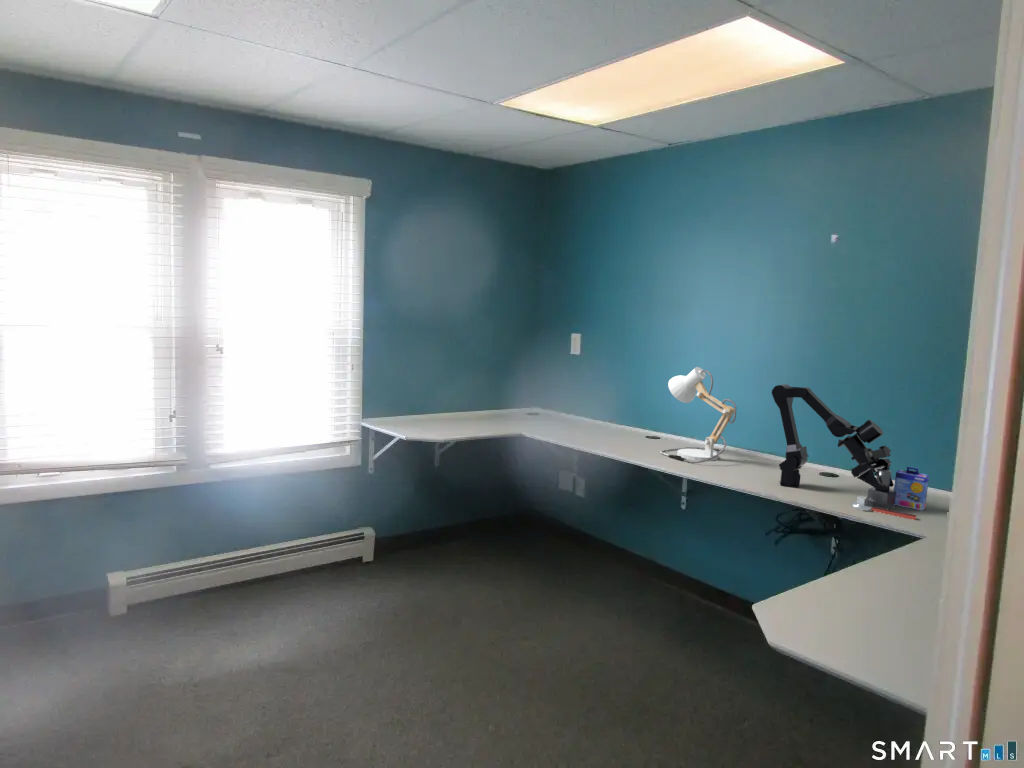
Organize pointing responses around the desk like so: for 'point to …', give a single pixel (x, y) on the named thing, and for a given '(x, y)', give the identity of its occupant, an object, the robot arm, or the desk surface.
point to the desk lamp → (686, 392)
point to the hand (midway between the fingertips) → (886, 487)
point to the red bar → (863, 505)
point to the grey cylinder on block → (882, 491)
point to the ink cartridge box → (911, 489)
